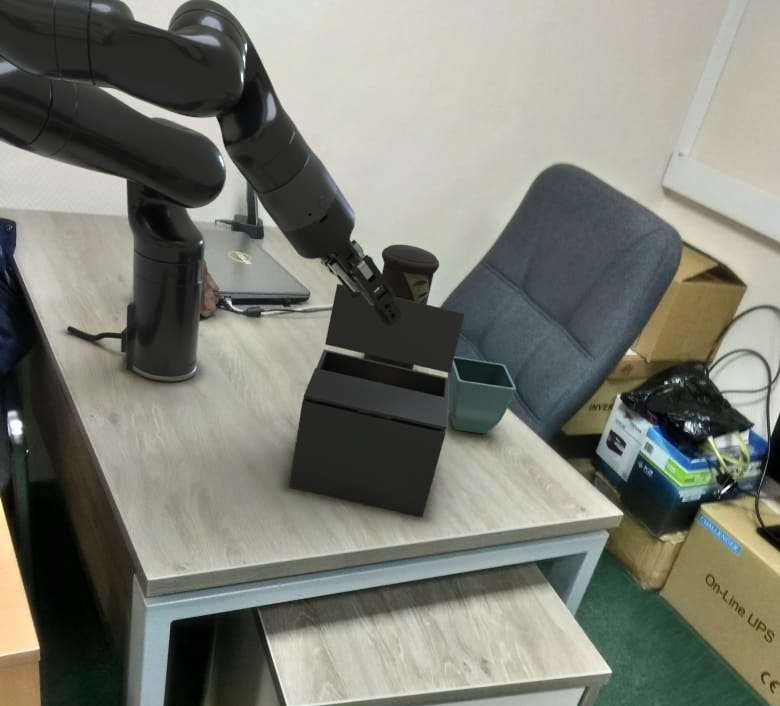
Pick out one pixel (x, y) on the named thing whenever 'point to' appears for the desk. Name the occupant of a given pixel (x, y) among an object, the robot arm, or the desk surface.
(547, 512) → the desk surface
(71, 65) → the robot arm
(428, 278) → the container
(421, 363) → the flap
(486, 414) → the flower pot
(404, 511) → the carton
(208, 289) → the mineral specimen
